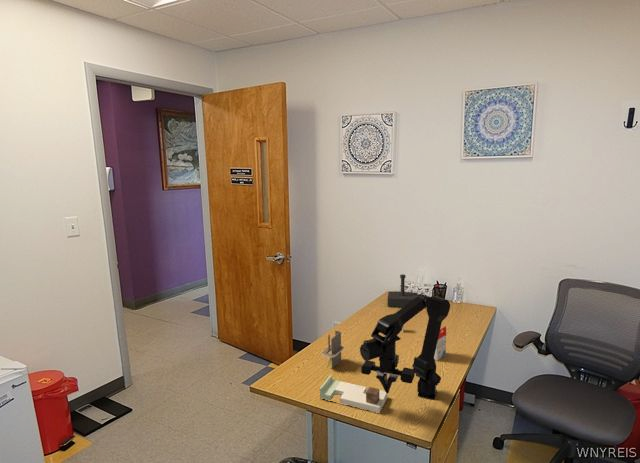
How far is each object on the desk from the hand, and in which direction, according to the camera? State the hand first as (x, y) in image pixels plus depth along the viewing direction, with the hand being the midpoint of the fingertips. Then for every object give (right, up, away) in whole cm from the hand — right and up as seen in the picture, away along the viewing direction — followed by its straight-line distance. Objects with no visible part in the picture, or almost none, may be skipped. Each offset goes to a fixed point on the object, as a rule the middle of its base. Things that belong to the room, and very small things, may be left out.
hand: (387, 392), depth 141 cm
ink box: (+31, 0, +41) cm, 51 cm away
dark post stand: (+30, +11, +113) cm, 117 cm away
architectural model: (-19, -2, +36) cm, 41 cm away
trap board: (-12, -6, +9) cm, 16 cm away
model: (+16, +4, +70) cm, 72 cm away
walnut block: (-5, -4, +3) cm, 7 cm away
